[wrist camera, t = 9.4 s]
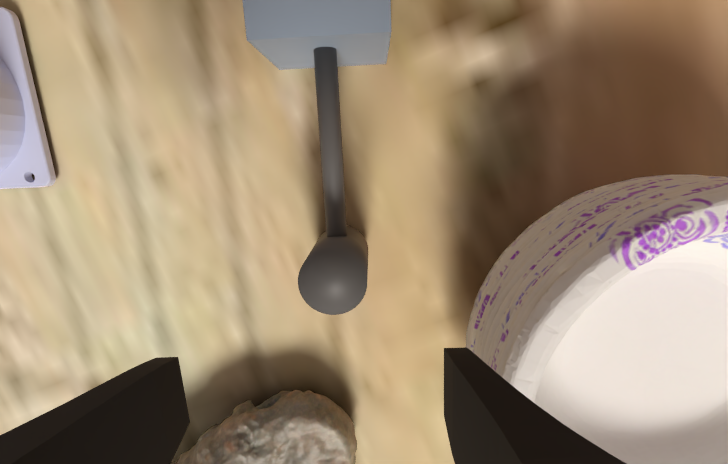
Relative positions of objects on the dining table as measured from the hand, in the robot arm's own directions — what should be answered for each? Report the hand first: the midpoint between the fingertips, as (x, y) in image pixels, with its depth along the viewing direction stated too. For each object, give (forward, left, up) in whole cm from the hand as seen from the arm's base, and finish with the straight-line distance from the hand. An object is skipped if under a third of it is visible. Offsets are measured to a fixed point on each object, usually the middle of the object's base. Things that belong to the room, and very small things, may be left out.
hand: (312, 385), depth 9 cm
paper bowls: (+13, -3, -10) cm, 17 cm away
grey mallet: (0, +8, -10) cm, 13 cm away
